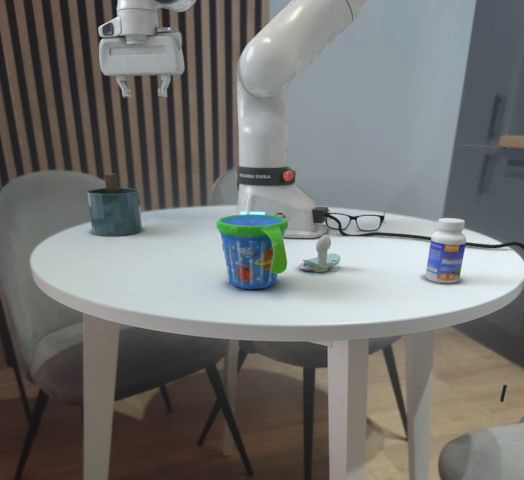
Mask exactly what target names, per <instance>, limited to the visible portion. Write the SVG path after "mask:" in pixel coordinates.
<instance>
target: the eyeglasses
mask: <svg viewBox="0 0 524 480" xmlns="http://www.w3.org/2000/svg"><path fill="white" fill-rule="evenodd" d="M328 214H329V215H339V216H340V215H341V216H346V217H348V218H349V221H348V223H347V226H345V228H342V231H345V230H347V229H348V227H349V226H350V224H351V221H354V222H355V224H356V227H357V229H358V230H359V231H360V232H364V233H371V232H378V230H380V229H381V227H382V224H383V222H384V221H385V217H386V215H385V214H386V211H383V215H381V214H359V215H350V214H345V213H340V212H331V211H330V209H329V208H328ZM361 217H378V218H379V225H378V227H377V228H375V229H370V230H365V229H361V228H360V227H359V225H358V218H361ZM328 219H329V220H331V219H330V218H328ZM324 223H325V225H326V226H327V229H332V230H335V231H339V228H335V227H332V226H329V223H328V220H327V221H325V222H324Z"/></svg>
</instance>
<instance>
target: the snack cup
mask: <svg viewBox="0 0 524 480" xmlns="http://www.w3.org/2000/svg"><path fill="white" fill-rule="evenodd" d="M287 227H288V222H287V220H286V219H285V218H283V217H279V216H273V215H262V214H243V215H236V214H233V215H228V216H222V217H220V218H219V219H218V220H217V221H216V229H217V231H218V232H219V234H220V237H221V242H222V245H221V247H222V251H223V254H224V259H225V265H226V271H227V276H228V282H229V284H231V285H232V286H234V287H238V288H240V289H242V290H243V289H245V290H246V289H247V290H254V289H255V290H259V289H266V288H268V287H271V286H273V285H274V284H275V283H276V282H277V279H278V275H279V274H282V273H284V272H285V271H286V270H287V267H288V259H287V253H286V252H287V251H286V247H285V240H284V237H283V235H284V233H285V231H286V229H287Z"/></svg>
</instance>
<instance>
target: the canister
mask: <svg viewBox="0 0 524 480" xmlns="http://www.w3.org/2000/svg"><path fill="white" fill-rule="evenodd" d="M118 190H119V194H107V192H106V187H102V188H92V189H89V190H86V194H87V201H88V209H89V210H88V211H89V217H90V225H91V230H92V231H91V232H92V233H93V234H94V235H97V236H102V237H103V236H104V237H121V236H131V235H137V234H139V233H141V232H142V231H143V221H142V211H141V210H142V209H141V198H140V190H139V189H137V188H132V187H131V188H130V187H118Z"/></svg>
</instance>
